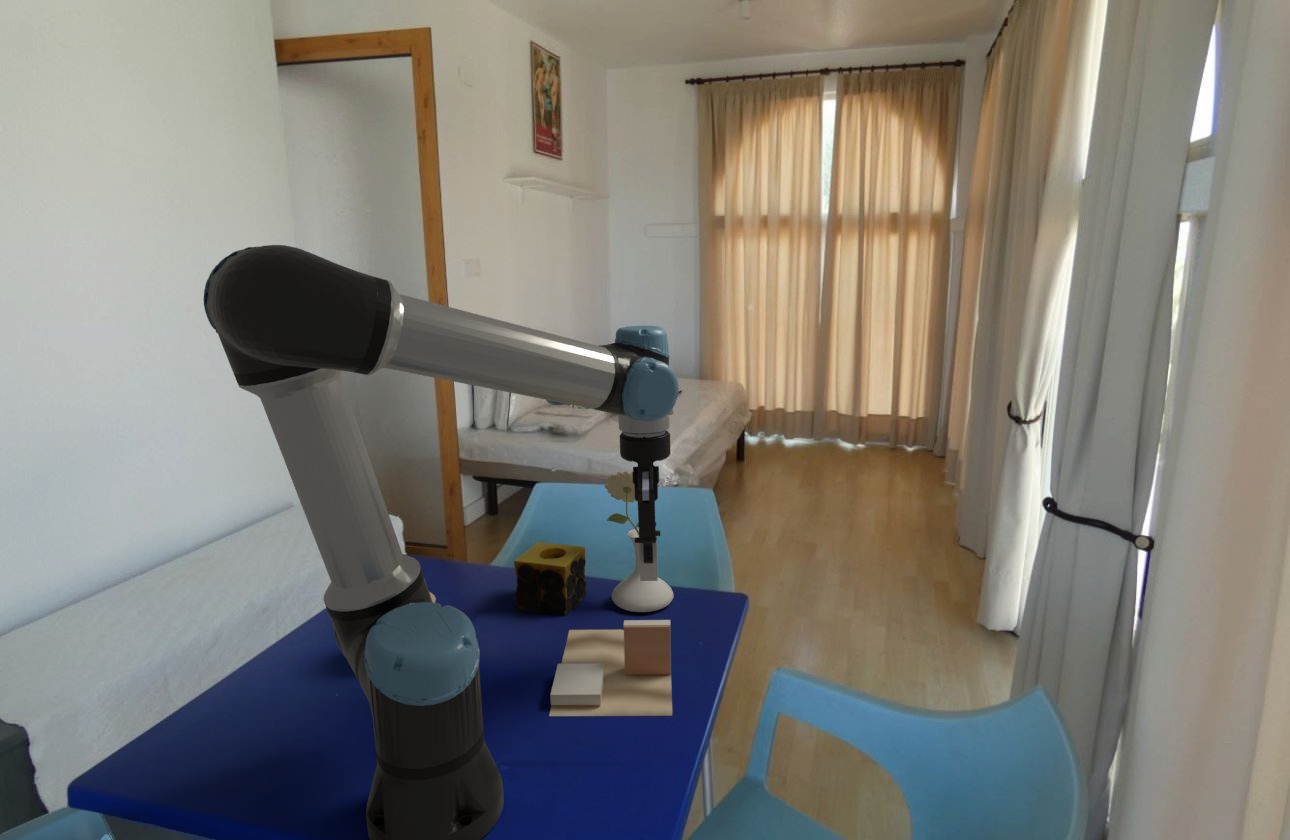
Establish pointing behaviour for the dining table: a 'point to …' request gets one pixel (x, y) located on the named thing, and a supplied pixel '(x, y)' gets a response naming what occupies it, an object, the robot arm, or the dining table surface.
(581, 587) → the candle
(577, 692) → the tile
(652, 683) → the board
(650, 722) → the dining table surface
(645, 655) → the tile
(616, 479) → the flower in vase
